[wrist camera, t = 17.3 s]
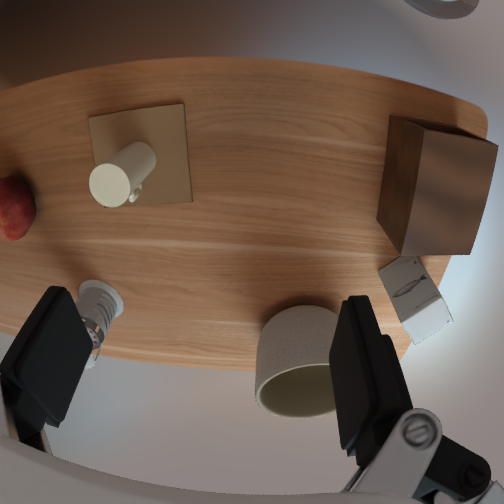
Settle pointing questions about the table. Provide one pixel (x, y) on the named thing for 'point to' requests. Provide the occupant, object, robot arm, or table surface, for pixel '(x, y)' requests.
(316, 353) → the planter
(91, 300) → the french press
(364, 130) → the table surface
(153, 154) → the cream mug
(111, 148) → the mat
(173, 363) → the table surface
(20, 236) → the fruit
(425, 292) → the white packaging box
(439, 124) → the brown lidded box
